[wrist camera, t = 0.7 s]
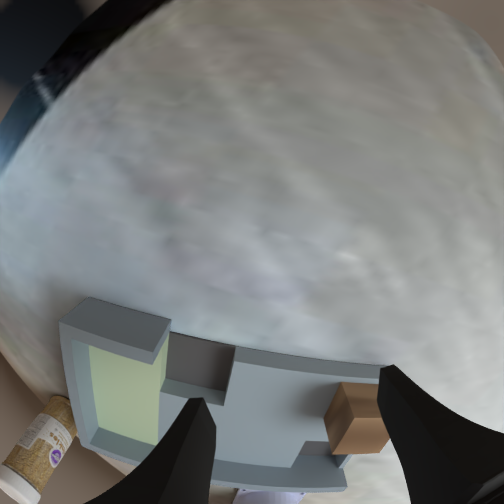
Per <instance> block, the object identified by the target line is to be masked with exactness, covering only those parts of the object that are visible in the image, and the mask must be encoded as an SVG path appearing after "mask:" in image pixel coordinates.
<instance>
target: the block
mask: <svg viewBox="0 0 504 504" xmlns="http://www.w3.org/2000/svg"><path fill="white" fill-rule="evenodd" d="M377 393H378V384H368V383H352V382H341V383H340V385H339V387H338V389H337V391H336V393H335V395H334V397H333V400H332V402H331V404H330V406H329V408H328V410H327V412H326V414H325V416H324V418H323V420H324V424H325V428H326V432H327V436H328V440H329V444H330V448H331V452H332V454H369V453H379V452H380V451H381V450H382V448H383V447H384V446H385V444H386V443H387V442H388V440H389V439H390V437H389V434H388V432H387V430H386V427H385V425H384V423H383V420H382V417H381V414H380V411H379V407H378V404H377Z"/></svg>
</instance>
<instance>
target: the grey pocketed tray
mask: <svg viewBox="0 0 504 504" xmlns="http://www.w3.org/2000/svg"><path fill="white" fill-rule="evenodd" d="M58 324H59V334H60V343H61V351H62V358H63V365H64V371H65V377H66V383H67V388H68V393H69V398H70V403H71V407H72V411H73V416H74V420H75V424H76V428H77V431H78V435H79V438H80V442H81V445H82V446H83V447H85V448H88V449H90V450H93V451H95V452H98V453H100V454H103V455H105V456H108V457H111V458H113V459H116V460H119V461H122V462H125V463H128V464H131V465H134V466H138V465H139V464H140V463H141V462H142V461H143V460H144V459H145V458H146V457H147V456H148V455H149V454H150V452H151V451H152V450H153V449H154V448H155V446H156V445H157V444H158V443H159V441H160V440H161V439H162V437H163V436H164V435H165V433H166V432H167V431H168V429H169V428H170V426H171V425H172V423H173V422H174V420H175V419H176V417H177V416H178V414H179V413H180V411H181V410H182V408H183V407H184V405H185V403H186V402H187V400H188V399H189V398H199V397H203V398H204V400H205V402H206V404H207V407H208V409H209V411H210V413H211V416H212V418H213V420H214V422H215V424H216V426H217V428H216V451H215V457H214V464H213V470H212V476H211V482H210V484H212V485H219V486H225V487H232V488H240V489H249V490H260V491H273V492H301V493H315V492H342V491H344V490H345V489H346V488H347V487H348V486H347V482H346V478H345V475H344V471H343V467H344V466H345V465H346V463H347V462H348V461H349V459H350V458H351V456H352V455H353V454H332V452H331V448H330V444H329V440H328V436H327V432H326V428H325V424H324V420H323V418H324V416H325V414H326V412H327V410H328V408H329V406H330V404H331V402H332V400H333V397H334V395H335V393H336V391H337V389H338V387H339V385H340V383H341V382H352V383H368V384H379V374H380V368H383V367H386V366H379V365H366V364H356V363H346V362H337V361H328V360H320V359H312V358H305V357H298V356H291V355H284V354H278V353H272V352H266V351H260V350H255V349H249V348H244V347H238V346H233V345H228V344H223V343H219V342H214V341H209V340H205V339H200V338H196V337H191V336H187V335H183V334H179V333H175V332H171V331H170V326H171V320H170V319H166V318H162V317H158V316H154V315H150V314H146V313H143V312H139V311H135V310H132V309H128V308H124V307H121V306H117V305H114V304H111V303H107V302H104V301H100V300H97V299H94V298H91V297H88V298H86V299H85V300H84V301H83V302H81V303H80V304H79V305H78V306H76V307H75V308H74V309H73V310H71V311H70V312H69V313H68V314H67V315H65V316H64V317H63V318H62V319H60V320H59V321H58Z"/></svg>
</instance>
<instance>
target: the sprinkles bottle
mask: <svg viewBox="0 0 504 504" xmlns="http://www.w3.org/2000/svg"><path fill="white" fill-rule="evenodd" d="M77 432H78V431H77V428H76V424H75V420H74V416H73V411H72V407H71V403H70V400H68V399H66V398H64V397H61V396H53V397H52V398H51V399H50V402H49V403H48V404H47V405H46V407H45V408H44V410H43V411H42V412H41V413H40V414H39V415H38V416H37V417H36V419H35V420H34V421H33V422H32V424H31V425H30V426H29V427H28V429H27V430H26V431H25V433H24V434H23V435H22V437H21V438H20V440H19V441H18V442H17V443H16V445H15V447H14V448H13V450H12V452H11V453H10V454H9V455H8V457H7V459H6V460H5V461H4V462H2V464H0V488H1V489H2V490H3V491H4V492H5V493H6V494H8V495H9V496H10V497H11V498H13V499H14V500H15V501H17V502H18V503H20V504H37V503H38V502H39V500H40V498H41V496H40V495H41V492H42V490H43V488H44V486H45V485H46V483H47V481H48V479H49V478H50V476H51V474H52V472H53V471H54V469H55V468H56V466H57V465H58V463H59V462H60V460H61V459H62V457H63V456H64V454H65V452H66V450H67V449H68V447H69V446H70V444H71V442H72V440H73V438H74V436H75V435H76V433H77Z"/></svg>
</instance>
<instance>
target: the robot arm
mask: <svg viewBox="0 0 504 504" xmlns="http://www.w3.org/2000/svg"><path fill="white" fill-rule="evenodd" d="M377 404H378V407H379V411H380V414H381V417H382V420H383V423H384V425H385V427H386V430H387V432H388V434H389V437H390V439H391V441H392V443H393V446H394V448H395V450H396V453H397V455H398V457H399V460H400V462H401V465H402V468H403V472H404V475H405V479H406V483H407V487H408V491H409V496H410V501H411V504H504V433H501V432H498V431H494V430H491V429H488V428H486V427H484V426H481V425H479V424H476V423H474V422H472V421H470V420H468V419H466V418H464V417H462V416H460V415H458V414H457V413H455V412H453V411H452V410H450V409H449V408H447V407H445V406H444V405H443V404H441V403H440V402H438V401H437V400H436V399H434V398H433V397H432V396H430V395H429V394H428V393H427V392H425V391H424V390H423V389H422V388H420V387H419V386H418V385H417V384H416V383H414V382H413V381H412V380H411V379H410V378H409V377H408V376H406V375H405V374H404V373H403V372H402V371H401V370H400V369H399V368H398V367H396V366H395V365H394V364H393V365H390V366H386V367H383V368H380V374H379V384H378V393H377ZM216 428H217V426H216V424H215V422H214V420H213V418H212V416H211V413H210V411H209V409H208V407H207V404H206V402H205V400H204V398H203V397H199V398H189V399H188V400H187V402H186V403H185V405H184V407H183V408H182V410H181V411H180V413H179V414H178V416H177V417H176V419H175V420H174V422H173V423H172V425H171V426H170V428H169V429H168V431H167V432H166V433H165V435H164V436H163V437H162V439H161V440H160V441H159V443H158V444H157V445H156V446H155V448H154V449H153V450H152V451H151V452H150V454H149V455H148V456H147V457H146V458H145V459H144V460H143V461H142V462H141V463H140V464H139V465H138V466H137V467H136V468H135V469H134V470H133V471H132V472H131V473H130V474H128V475H127V476H126V477H125V478H124V479H123V480H121V481H120V482H119V483H117V484H116V485H115V486H113V487H112V488H110V489H109V490H107V491H106V492H104V493H103V494H101V495H99V496H98V497H96V498H94V499H92V500H90V501H88V502H86V503H84V504H208V497H209V488H210V482H211V476H212V470H213V464H214V457H215V451H216ZM305 494H306V493H301V492H273V491H260V490H249V489H240V488H239V489H238V492H237V494H236V496H235V498H234V501H233V503H232V504H298V503H299V502H300V501H301V499H302V498H303V497H304V496H305Z"/></svg>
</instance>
